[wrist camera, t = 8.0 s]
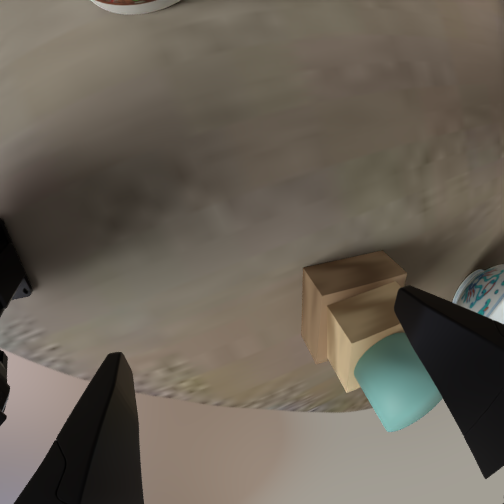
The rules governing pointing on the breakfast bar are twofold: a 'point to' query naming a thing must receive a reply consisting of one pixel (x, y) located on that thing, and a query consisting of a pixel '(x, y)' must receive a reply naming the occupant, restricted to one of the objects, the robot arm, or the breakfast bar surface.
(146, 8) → the milk bottle
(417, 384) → the teal cylinder
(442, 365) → the robot arm
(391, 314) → the top block
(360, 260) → the base block
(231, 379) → the breakfast bar surface
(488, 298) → the chinaware
